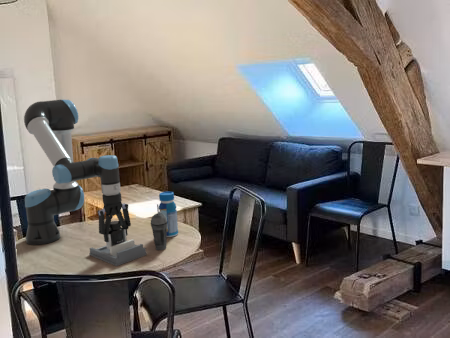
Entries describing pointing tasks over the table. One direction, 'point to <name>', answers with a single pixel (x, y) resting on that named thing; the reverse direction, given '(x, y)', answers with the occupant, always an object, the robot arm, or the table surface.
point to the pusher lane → (118, 254)
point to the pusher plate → (121, 247)
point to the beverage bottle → (169, 212)
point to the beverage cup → (159, 230)
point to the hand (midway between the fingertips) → (117, 246)
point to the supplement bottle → (116, 233)
